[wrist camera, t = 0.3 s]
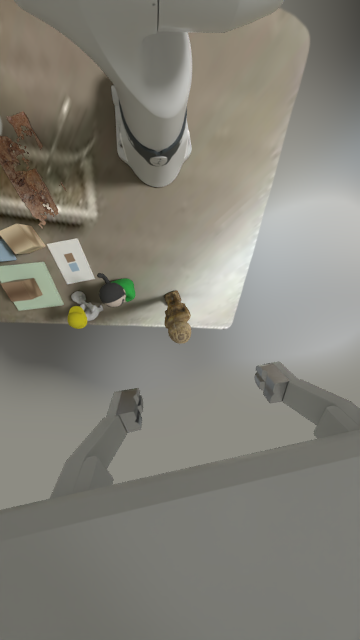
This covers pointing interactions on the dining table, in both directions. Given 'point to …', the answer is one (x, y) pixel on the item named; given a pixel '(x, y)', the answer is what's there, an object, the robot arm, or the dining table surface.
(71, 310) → the figurine
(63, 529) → the robot arm
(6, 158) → the bark
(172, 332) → the sculpture
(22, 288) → the walnut brick
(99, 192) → the dining table surface
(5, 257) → the blue brick
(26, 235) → the oak brick
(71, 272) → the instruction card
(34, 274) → the plate
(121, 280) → the toy
